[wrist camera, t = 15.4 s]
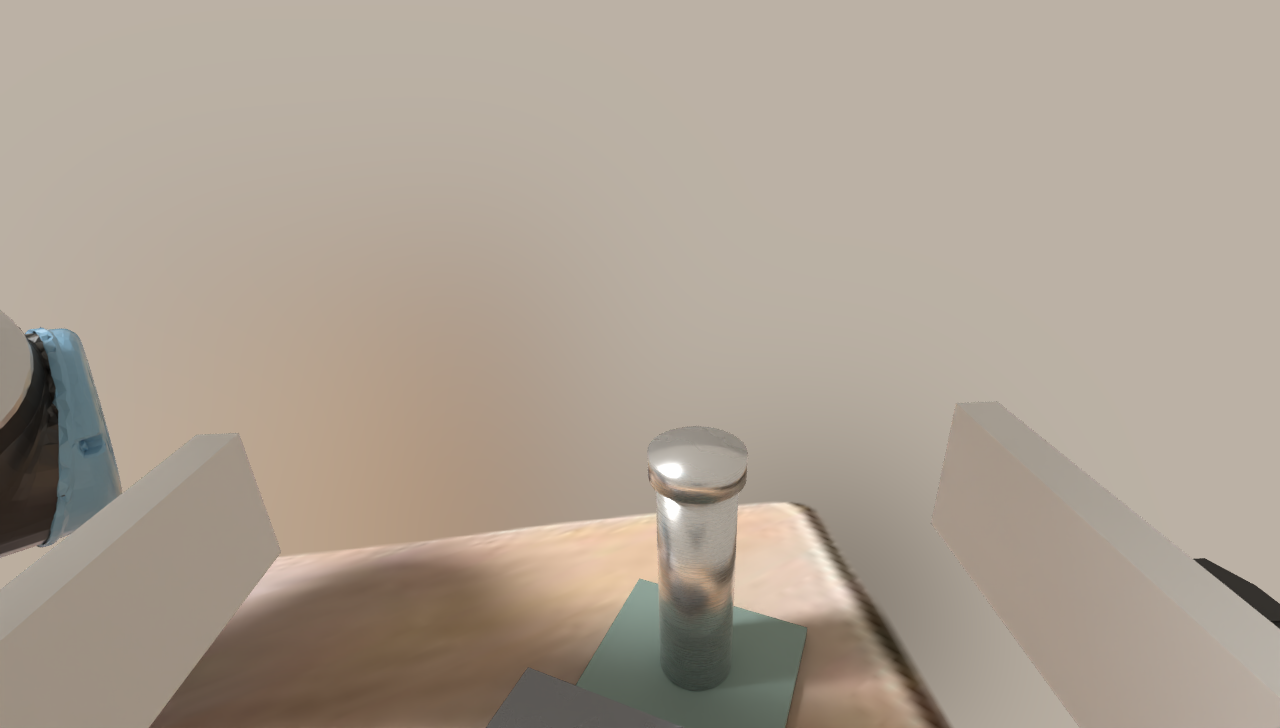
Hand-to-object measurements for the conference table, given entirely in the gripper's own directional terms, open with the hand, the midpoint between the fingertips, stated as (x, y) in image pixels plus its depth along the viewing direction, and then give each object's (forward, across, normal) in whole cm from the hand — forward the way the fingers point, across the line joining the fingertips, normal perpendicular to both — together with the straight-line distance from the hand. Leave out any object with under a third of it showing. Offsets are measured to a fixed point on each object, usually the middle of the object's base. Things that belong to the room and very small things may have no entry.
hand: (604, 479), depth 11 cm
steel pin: (+17, +4, -25) cm, 31 cm away
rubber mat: (+17, +4, -26) cm, 31 cm away
